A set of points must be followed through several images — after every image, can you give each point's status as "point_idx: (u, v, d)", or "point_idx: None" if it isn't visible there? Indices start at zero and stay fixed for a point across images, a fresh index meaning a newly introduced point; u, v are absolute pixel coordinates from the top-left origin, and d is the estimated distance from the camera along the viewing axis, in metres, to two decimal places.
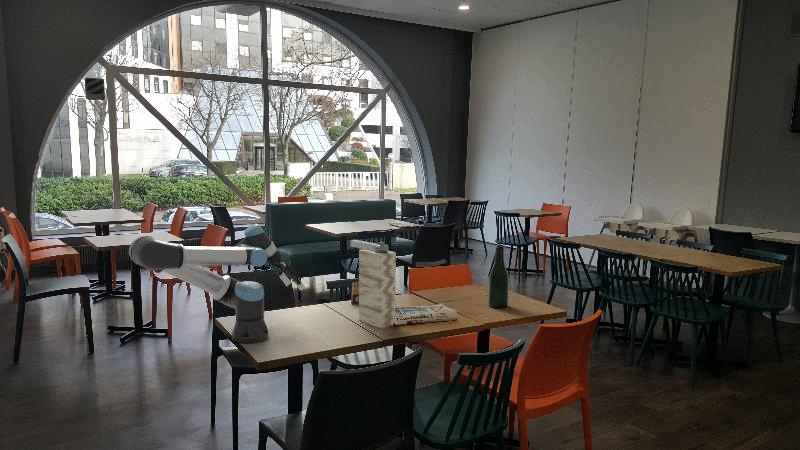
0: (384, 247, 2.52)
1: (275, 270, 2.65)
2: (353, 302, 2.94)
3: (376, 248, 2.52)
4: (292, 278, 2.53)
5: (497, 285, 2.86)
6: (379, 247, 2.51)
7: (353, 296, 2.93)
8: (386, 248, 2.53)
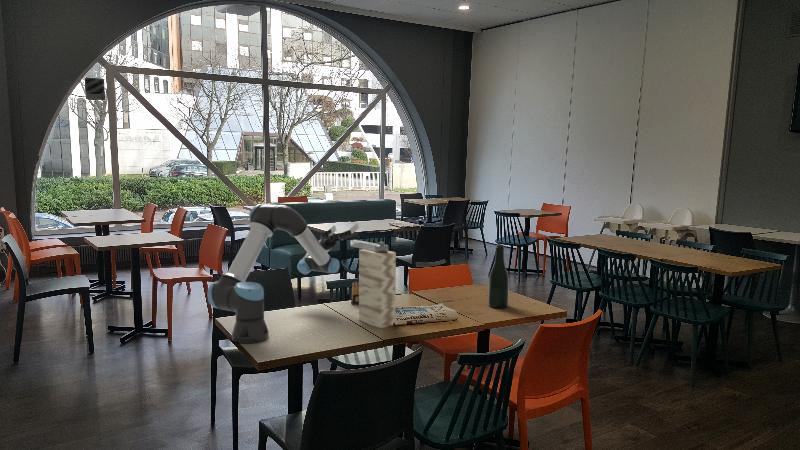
0: (384, 247, 2.52)
1: None
2: (353, 302, 2.94)
3: (376, 248, 2.52)
4: (326, 236, 2.74)
5: (497, 285, 2.86)
6: (379, 247, 2.51)
7: (353, 296, 2.93)
8: (386, 248, 2.53)
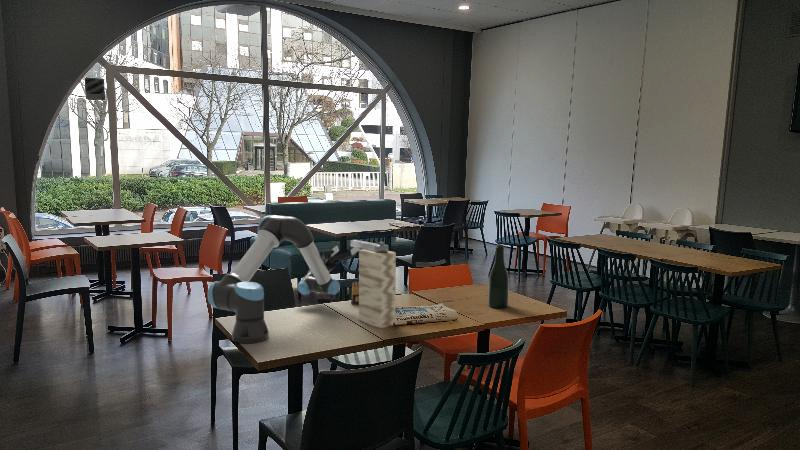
0: (384, 247, 2.52)
1: None
2: (353, 302, 2.94)
3: (376, 248, 2.52)
4: (328, 257, 2.76)
5: (497, 285, 2.86)
6: (379, 247, 2.51)
7: (353, 296, 2.93)
8: (386, 248, 2.53)
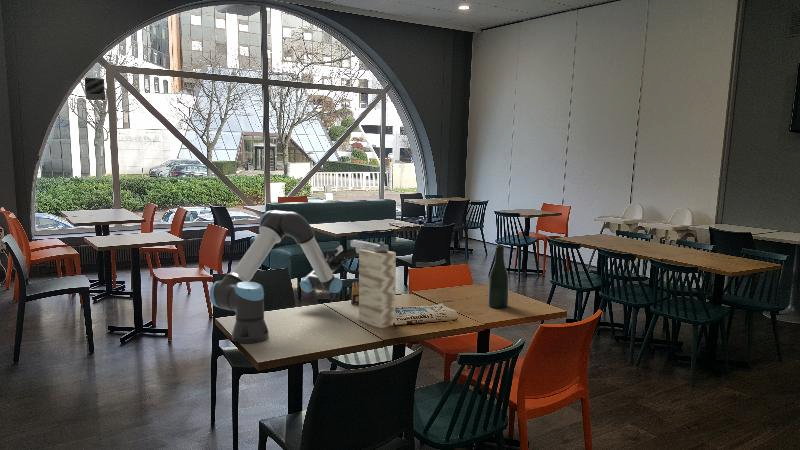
0: (384, 247, 2.52)
1: None
2: (353, 302, 2.94)
3: (376, 248, 2.52)
4: (332, 256, 2.72)
5: (497, 285, 2.86)
6: (379, 247, 2.51)
7: (353, 296, 2.93)
8: (386, 248, 2.53)
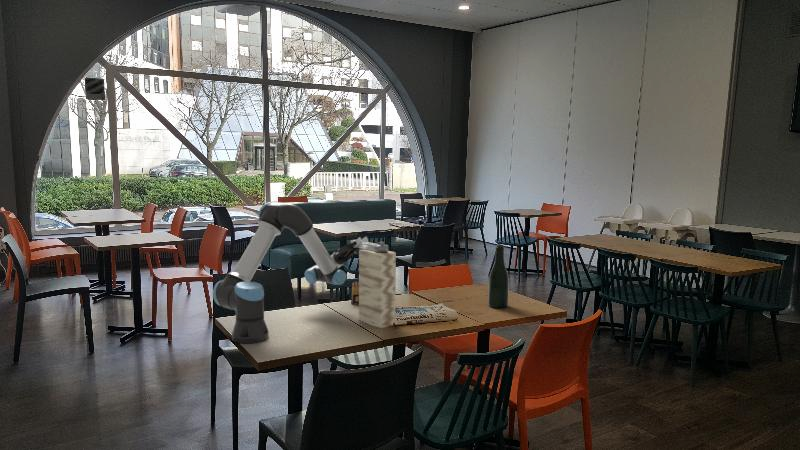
0: (384, 247, 2.52)
1: (360, 248, 2.74)
2: (353, 302, 2.94)
3: (376, 248, 2.52)
4: (350, 248, 2.67)
5: (497, 285, 2.86)
6: (379, 247, 2.51)
7: (353, 296, 2.93)
8: (386, 248, 2.53)
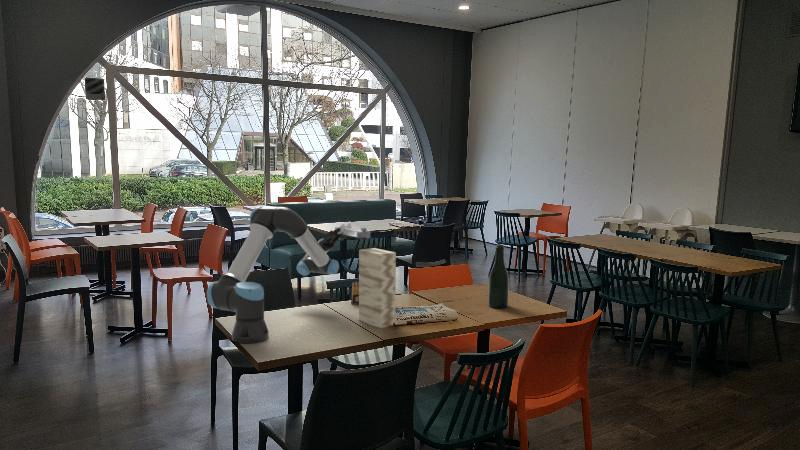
0: (366, 233, 2.61)
1: (344, 235, 2.84)
2: (353, 302, 2.94)
3: (358, 234, 2.62)
4: (334, 235, 2.77)
5: (497, 285, 2.86)
6: (361, 233, 2.61)
7: (353, 296, 2.93)
8: (368, 234, 2.62)
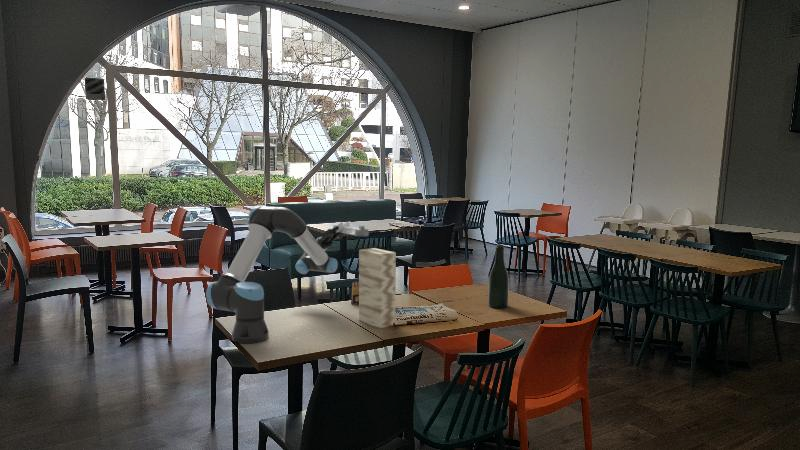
0: (364, 231, 2.62)
1: (342, 233, 2.85)
2: (353, 302, 2.94)
3: (357, 232, 2.63)
4: (333, 233, 2.78)
5: (497, 285, 2.86)
6: (359, 231, 2.62)
7: (353, 296, 2.93)
8: (366, 232, 2.63)
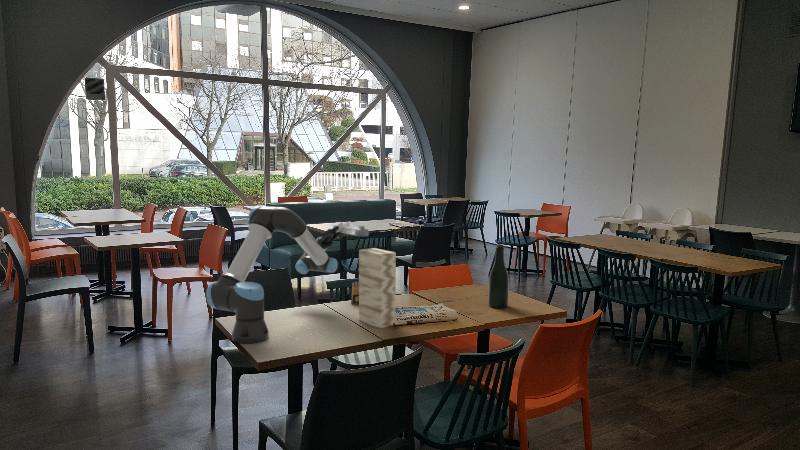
0: (364, 231, 2.62)
1: (342, 233, 2.85)
2: (353, 302, 2.94)
3: (357, 232, 2.63)
4: (333, 233, 2.78)
5: (497, 285, 2.86)
6: (359, 231, 2.62)
7: (353, 296, 2.93)
8: (366, 232, 2.63)
